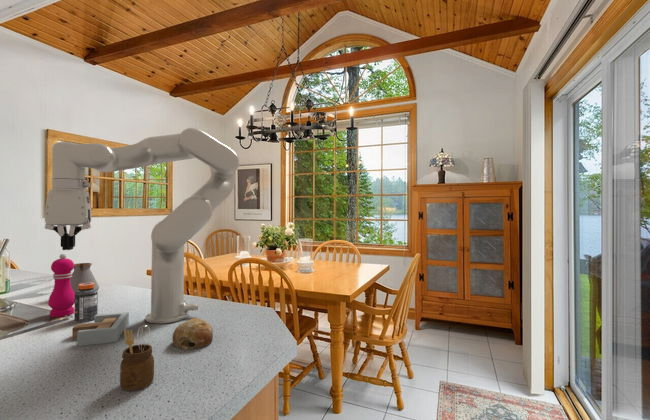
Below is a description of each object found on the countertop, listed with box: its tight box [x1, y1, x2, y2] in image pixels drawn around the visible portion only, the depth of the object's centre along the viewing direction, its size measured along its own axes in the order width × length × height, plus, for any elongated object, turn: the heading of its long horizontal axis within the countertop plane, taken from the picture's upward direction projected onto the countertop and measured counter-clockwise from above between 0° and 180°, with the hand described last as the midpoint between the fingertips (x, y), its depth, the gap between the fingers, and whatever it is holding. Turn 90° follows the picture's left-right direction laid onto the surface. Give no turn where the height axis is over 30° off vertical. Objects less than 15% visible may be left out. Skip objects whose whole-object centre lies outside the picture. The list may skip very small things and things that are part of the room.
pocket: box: [76, 311, 130, 347], centre depth 92 cm, size 8×15×4 cm, turn 20°
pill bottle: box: [73, 283, 99, 323], centre depth 104 cm, size 6×6×11 cm
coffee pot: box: [70, 262, 100, 293], centre depth 128 cm, size 21×12×15 cm, turn 35°
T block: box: [71, 318, 117, 340], centre depth 91 cm, size 9×9×3 cm
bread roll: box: [172, 317, 214, 351], centre depth 87 cm, size 10×10×8 cm
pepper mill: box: [47, 253, 75, 318], centre depth 109 cm, size 7×7×20 cm
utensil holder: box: [119, 325, 155, 392], centre depth 66 cm, size 6×6×12 cm
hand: (67, 249), depth 95 cm, fingers closed
